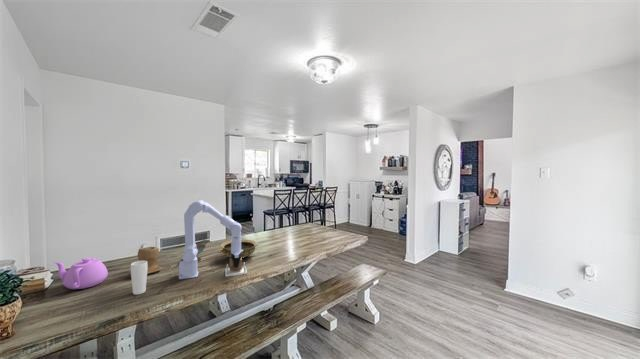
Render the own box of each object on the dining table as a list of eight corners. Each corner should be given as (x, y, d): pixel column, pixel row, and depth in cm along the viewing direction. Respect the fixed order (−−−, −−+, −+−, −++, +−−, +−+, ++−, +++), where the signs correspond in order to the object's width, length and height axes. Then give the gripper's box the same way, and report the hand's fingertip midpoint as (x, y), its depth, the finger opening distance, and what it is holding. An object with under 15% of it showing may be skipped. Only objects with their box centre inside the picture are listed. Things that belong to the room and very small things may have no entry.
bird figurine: (181, 266, 154) (198, 236, 162) (174, 263, 160) (190, 233, 168) (199, 271, 164) (214, 242, 172) (192, 268, 169) (206, 240, 177)
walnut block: (229, 271, 146) (229, 261, 146) (229, 268, 150) (229, 258, 150) (242, 269, 148) (242, 259, 148) (241, 266, 152) (241, 257, 152)
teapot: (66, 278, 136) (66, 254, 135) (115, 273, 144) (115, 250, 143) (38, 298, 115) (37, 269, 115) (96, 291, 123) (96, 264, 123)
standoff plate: (225, 276, 143) (225, 269, 142) (225, 270, 152) (225, 263, 151) (246, 274, 147) (246, 267, 147) (245, 268, 156) (245, 261, 156)
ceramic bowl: (225, 268, 155) (226, 252, 154) (210, 258, 171) (210, 244, 171) (266, 257, 176) (267, 243, 176) (249, 249, 193) (250, 236, 192)
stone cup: (157, 266, 155) (157, 243, 155) (163, 272, 147) (163, 247, 147) (127, 273, 144) (127, 248, 143) (132, 280, 136) (132, 253, 135)
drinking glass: (145, 287, 127) (145, 259, 127) (149, 292, 123) (149, 262, 123) (129, 292, 122) (128, 262, 122) (133, 297, 118) (132, 266, 117)
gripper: (243, 246, 143) (243, 269, 144) (242, 239, 157) (242, 260, 157) (231, 247, 141) (230, 270, 141) (230, 240, 154) (230, 262, 155)
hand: (236, 265), depth 149 cm, fingers closed on walnut block, 4 cm apart
